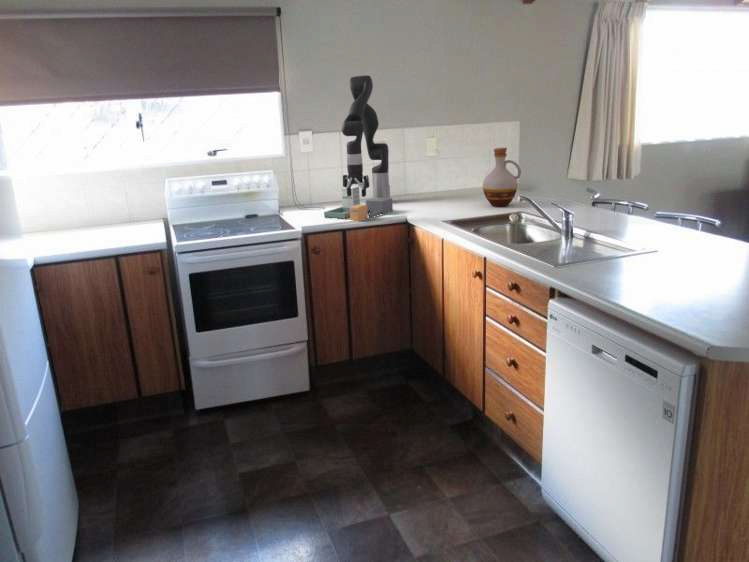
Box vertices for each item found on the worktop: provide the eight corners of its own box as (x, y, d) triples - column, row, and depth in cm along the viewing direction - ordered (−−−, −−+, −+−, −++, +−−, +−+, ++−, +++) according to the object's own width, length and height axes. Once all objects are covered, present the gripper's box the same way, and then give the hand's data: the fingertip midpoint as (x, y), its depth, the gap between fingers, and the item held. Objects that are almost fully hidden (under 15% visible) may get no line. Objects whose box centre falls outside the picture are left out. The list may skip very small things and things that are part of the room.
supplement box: (342, 211, 342) (340, 187, 339) (348, 208, 349) (347, 185, 345) (353, 211, 339) (352, 188, 335) (360, 209, 345) (359, 185, 342)
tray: (341, 212, 338) (341, 206, 338) (361, 214, 331) (361, 208, 330) (324, 217, 327) (323, 212, 326) (344, 219, 320) (344, 213, 319)
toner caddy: (359, 217, 322) (358, 204, 320) (367, 218, 319) (366, 204, 317) (349, 221, 315) (348, 207, 313) (357, 222, 312) (356, 208, 310)
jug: (518, 202, 342) (519, 145, 333) (522, 208, 325) (523, 148, 316) (481, 203, 344) (481, 147, 335) (483, 209, 327) (483, 150, 318)
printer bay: (377, 210, 339) (376, 197, 337) (392, 211, 334) (392, 198, 332) (355, 217, 324) (354, 203, 322) (371, 218, 318) (370, 204, 316)
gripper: (371, 162, 308) (372, 195, 313) (347, 162, 316) (349, 194, 320) (362, 164, 302) (364, 198, 307) (338, 163, 310) (340, 196, 315)
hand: (356, 196), depth 314 cm, fingers open, 8 cm apart
